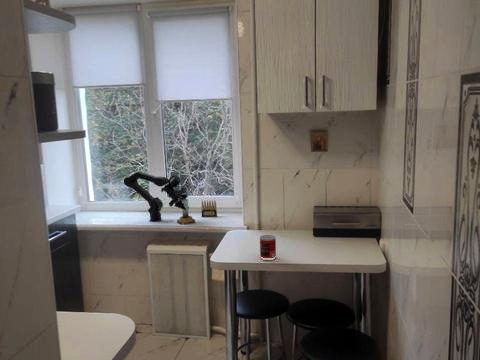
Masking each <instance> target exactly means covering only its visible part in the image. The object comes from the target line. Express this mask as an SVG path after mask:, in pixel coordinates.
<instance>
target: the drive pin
mask: <svg viewBox="0 0 480 360" xmlns="http://www.w3.org/2000/svg"><path fill="white" fill-rule="evenodd" d="M188 199H189V198H186V199H182V204H183V205H184V207H185V208H186V210H183V209H181V210H182V211H181V212H182V216H183V218H189V216H190V213H189V209H188V207H189V200H188Z"/></svg>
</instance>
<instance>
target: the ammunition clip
mask: <svg viewBox="0 0 480 360" xmlns="http://www.w3.org/2000/svg"><path fill="white" fill-rule="evenodd" d="M217 211H218V210H217V201H216V200H213V199H211V200H208V199H207V200H202V199H201V218H216V217H218V212H217Z"/></svg>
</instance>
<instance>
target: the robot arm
mask: <svg viewBox="0 0 480 360" xmlns="http://www.w3.org/2000/svg"><path fill="white" fill-rule="evenodd" d="M138 180H144V181H147V182H150V183H153V184H154V185H155V186H157V187H161V188H160V189H161V190H160V192H161V193H163V192H165V193H166V194H167V195H168V198H169V199H170V198H171V200H170V201H169V202H168V205H169V207H170V208H172V207H176V208H178V209H181V210H182V209H183V210H186V208H185V207H184V205H183V204H182V199H188V197H189V195H188V194H187V188H186V187H185V186H183V187H181V188H180V189H179V190H178V189H176V188H177V187H178V186H179V184H180V183H182V179H181V178H180V177H178V176H177V175H175V174H173V175H172V176H171V177H170V179H169V178H167V176H166V177H165V176H154V175H151V174H148V173H146V172H141V171H136V172H135V173H133V174H131V175H130V176H126V177H124V179H123V185H124V186H126V187H128V188H130V189H133V190H134V191H135V192H136V193H137V194H138V195H139V196H141V197H142V198H143V199H144V200H145V201H146V202H147V203H148V205H149V208H147V211H148V213H149V220H148V222H156V223H157V222H160V221H161V220H162V213H161V211H162V209H163V207H164V202H163V200H162V199H160V198H159V197H157V196H156V197H153V195H152V194H150V193H149V192H148V191H147V190H146V189H145V188H144V187H143V186H142V185H140V184H139V182H138ZM189 209H190V206H188V210H189Z"/></svg>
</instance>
